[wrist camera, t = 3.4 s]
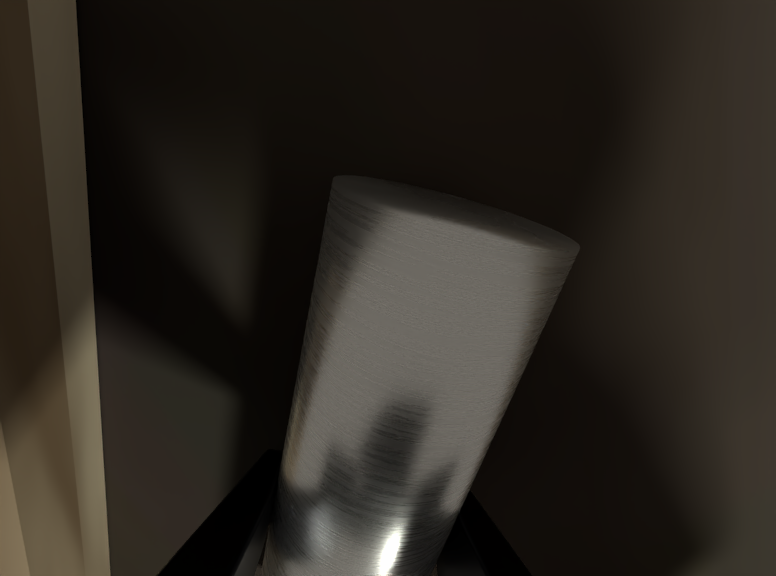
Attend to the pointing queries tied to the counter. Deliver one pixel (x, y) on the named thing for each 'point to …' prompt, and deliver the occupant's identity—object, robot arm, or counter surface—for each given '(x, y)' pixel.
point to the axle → (404, 373)
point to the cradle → (47, 305)
